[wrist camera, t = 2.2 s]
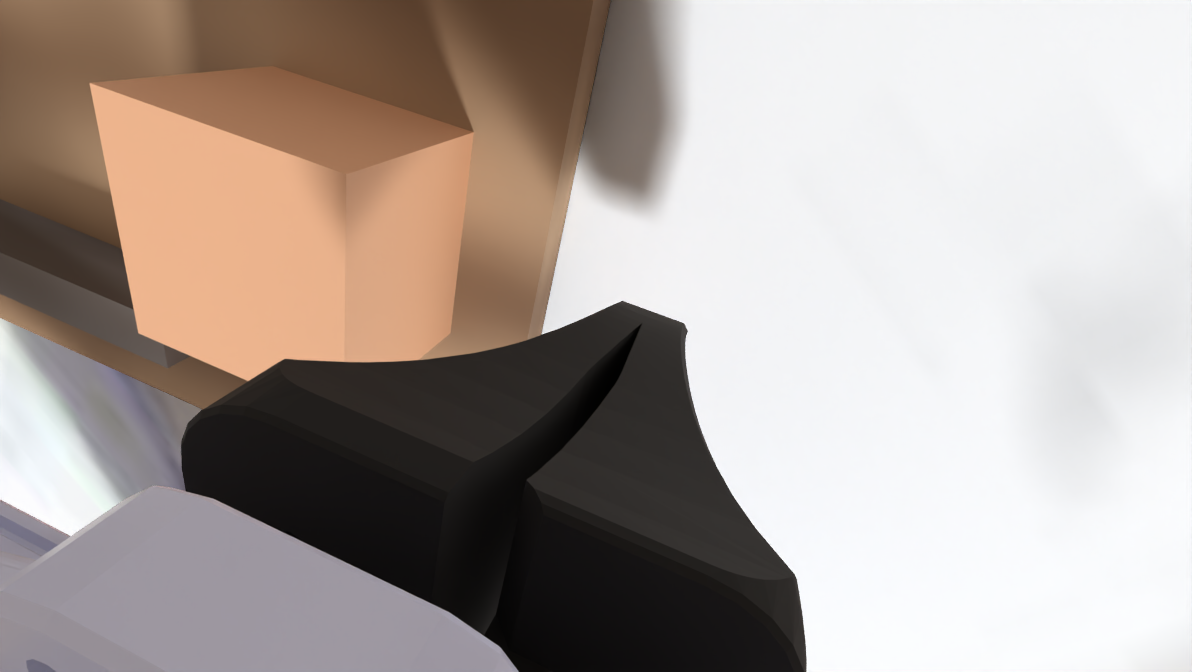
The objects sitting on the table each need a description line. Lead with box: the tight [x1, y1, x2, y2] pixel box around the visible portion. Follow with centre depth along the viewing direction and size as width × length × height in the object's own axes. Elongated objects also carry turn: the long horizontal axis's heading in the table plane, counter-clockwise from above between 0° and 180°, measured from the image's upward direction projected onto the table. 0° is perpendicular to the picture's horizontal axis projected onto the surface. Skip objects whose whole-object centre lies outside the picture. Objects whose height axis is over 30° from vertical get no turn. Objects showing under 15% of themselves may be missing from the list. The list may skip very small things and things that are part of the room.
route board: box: [0, 0, 611, 409], centre depth 16 cm, size 18×26×3 cm
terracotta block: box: [90, 66, 474, 381], centre depth 13 cm, size 5×5×4 cm
